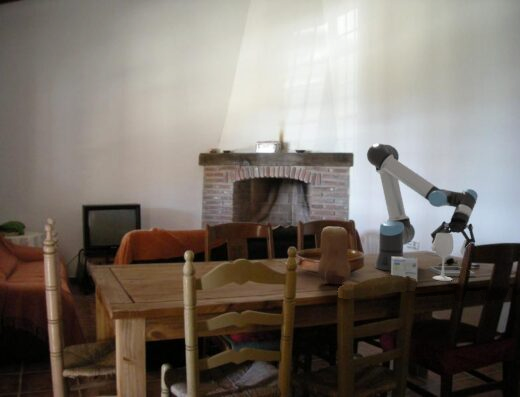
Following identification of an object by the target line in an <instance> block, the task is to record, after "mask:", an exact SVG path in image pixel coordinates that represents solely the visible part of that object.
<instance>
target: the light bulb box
mask: <svg viewBox="0 0 520 397" xmlns="http://www.w3.org/2000/svg"><path fill="white" fill-rule="evenodd" d="M418 261H419V260H418V258H416V257H415V256H412V257H411V256H404V257H391V271H390V276H391V275H399V276H403V277H406V276H410V277H411V278H414V279H416V281H417V282H418V263H419V262H418Z"/></svg>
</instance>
